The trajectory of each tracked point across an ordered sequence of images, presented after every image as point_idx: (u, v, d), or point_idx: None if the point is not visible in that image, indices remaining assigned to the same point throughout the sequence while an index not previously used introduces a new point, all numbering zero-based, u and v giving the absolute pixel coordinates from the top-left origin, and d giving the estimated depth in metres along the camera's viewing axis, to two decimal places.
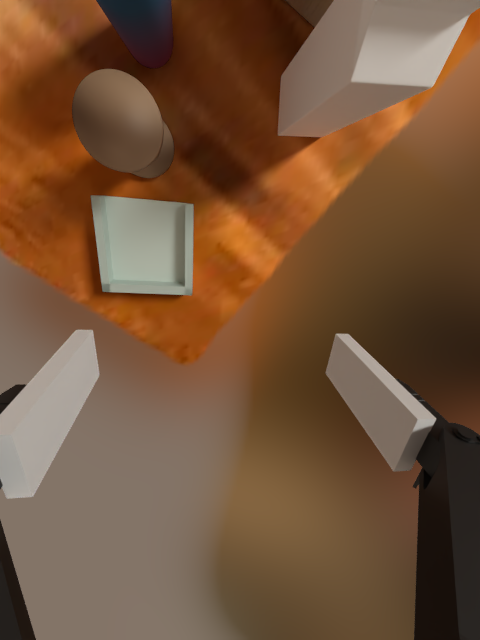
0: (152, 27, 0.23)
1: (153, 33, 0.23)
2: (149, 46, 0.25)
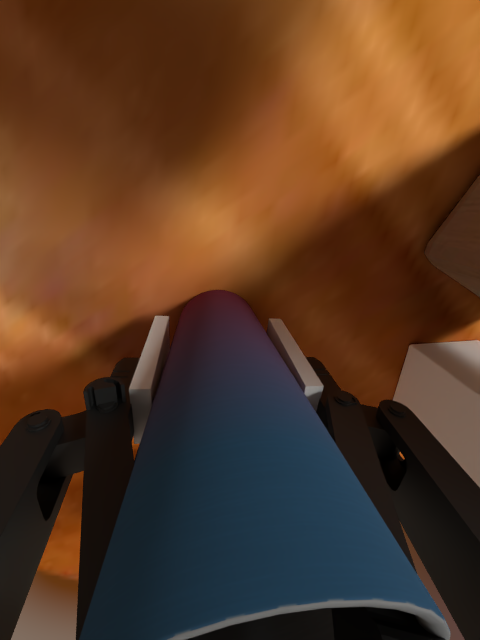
0: None
1: None
2: None
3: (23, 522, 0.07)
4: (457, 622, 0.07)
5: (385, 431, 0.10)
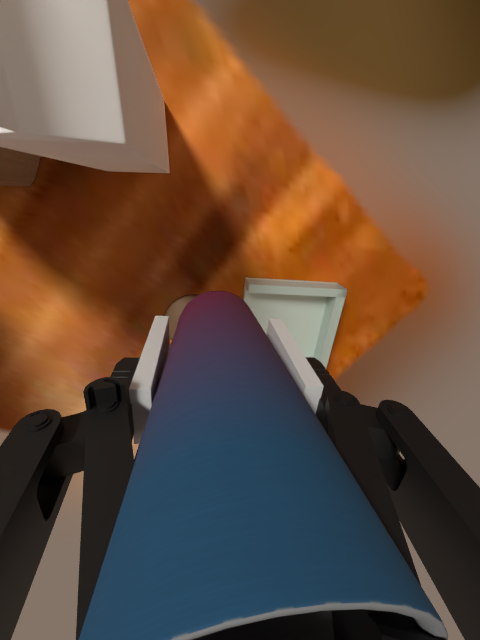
0: None
1: None
2: None
3: (23, 522, 0.07)
4: (457, 622, 0.07)
5: (385, 431, 0.10)
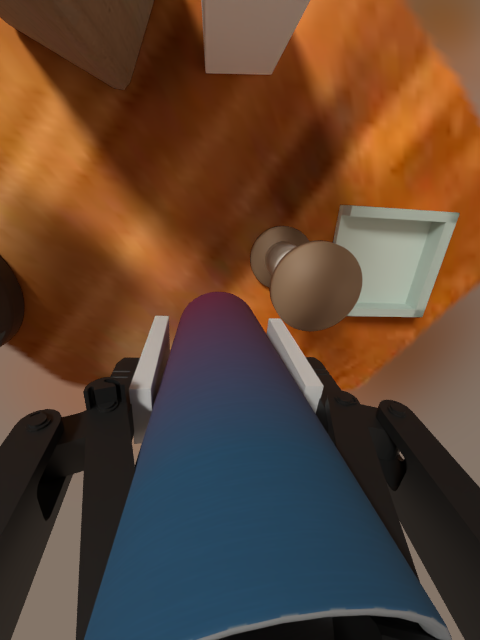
0: None
1: None
2: None
3: (23, 522, 0.07)
4: (457, 622, 0.07)
5: (385, 431, 0.10)
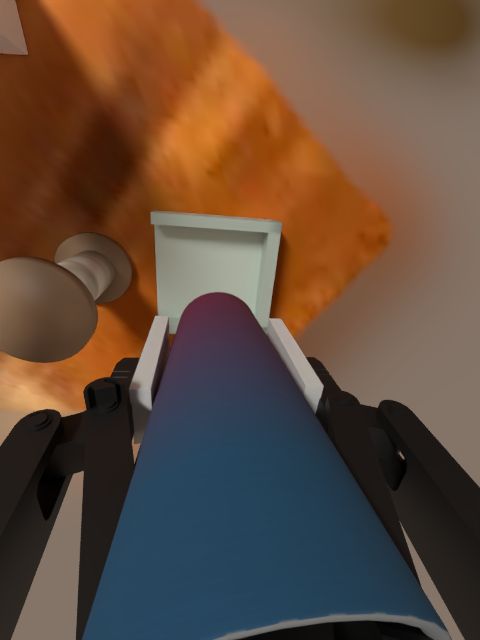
0: None
1: None
2: None
3: (23, 522, 0.07)
4: (457, 622, 0.07)
5: (385, 431, 0.10)
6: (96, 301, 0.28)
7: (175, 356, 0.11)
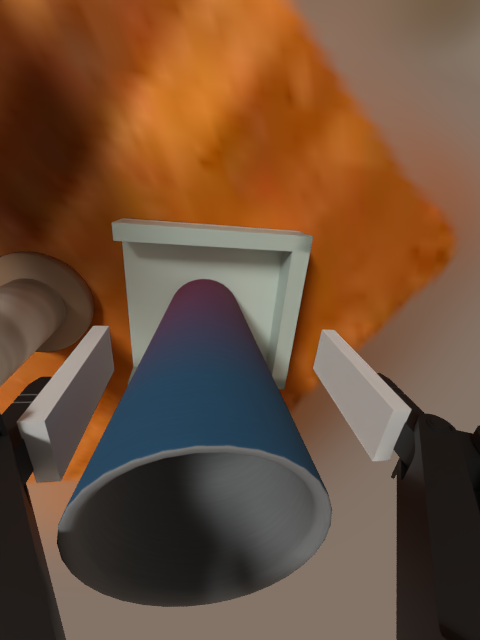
0: None
1: None
2: None
3: None
4: None
5: None
6: (41, 349, 0.20)
7: (160, 326, 0.13)
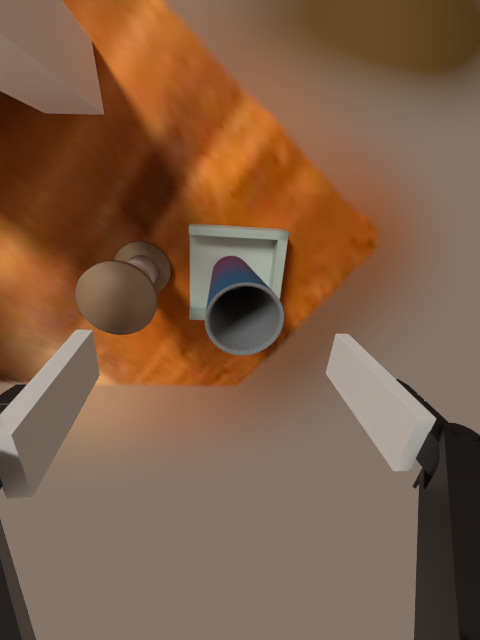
0: None
1: None
2: None
3: None
4: None
5: None
6: None
7: (216, 272, 0.30)
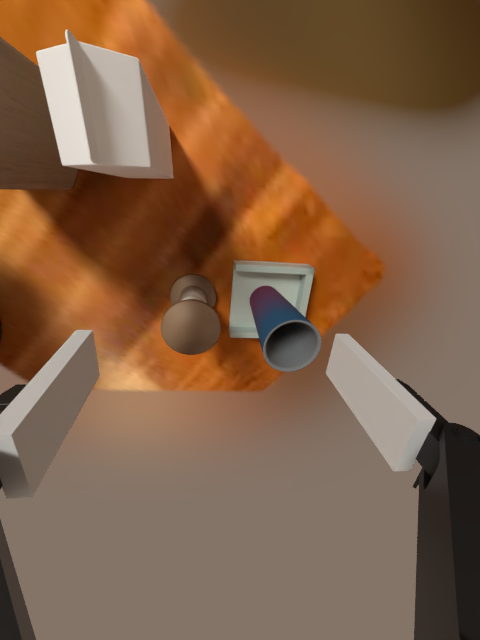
0: None
1: None
2: None
3: None
4: None
5: None
6: None
7: (260, 303, 0.38)
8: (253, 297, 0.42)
